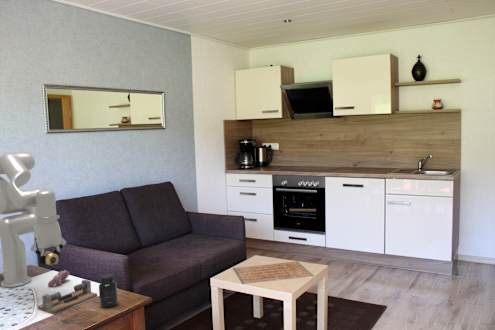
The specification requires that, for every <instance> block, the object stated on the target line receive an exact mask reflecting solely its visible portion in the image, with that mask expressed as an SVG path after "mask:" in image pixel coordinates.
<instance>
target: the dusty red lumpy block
mask: <svg viewBox="0 0 495 330" xmlns="http://www.w3.org/2000/svg"><path fill="white" fill-rule="evenodd" d="M69 276H70V271H68V270H66V269H64V270H61V271H60V270H59V271H58V273H57V274H55V276H54V277H52V279H51V280H50V281H48V283H47V286H48V287H50V288H51V287H54V286H55V285H57V286H59V285H61V283H65V281H66V279H67V278H68V277H69Z"/></svg>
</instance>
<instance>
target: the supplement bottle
mask: <svg viewBox="0 0 495 330" xmlns="http://www.w3.org/2000/svg"><path fill="white" fill-rule="evenodd" d="M114 280H115V279H114V274H111V273H106V274H103V275H101V276H100V283H99V285H98V292H99V293H98V296H99V306H100V307H101V308H102V309H103V308H104V309H110V308H114V307H115V306H117V305H118V303H119V301H118V299H119V298H118V287H117V285H118V284H117V282H116V281H114Z"/></svg>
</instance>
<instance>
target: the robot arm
mask: <svg viewBox="0 0 495 330" xmlns="http://www.w3.org/2000/svg"><path fill="white" fill-rule="evenodd" d="M35 163H36V162H35V158H34V155H32V154H31V153H30V152H28V151H19V152H18V151H17V152H7V153H6V152H5V153H4V154H2V155H0V215H1V216H5V215H8V216H5V217H2V218H0V244H1V254H2V268H3V273H2V275H1V276H2V277H3V278H4V279H3V280H2V281H1V282H0V286H1V287H2V288H17V287H20V286H21V287H22V286H25V285H27V284H29V283H30V282H32V277H31V276H29V275H28V268H27V267H28V266H27V264H28V263H27V256H26V255H27V254H26V252H27V251H26V244H25V242H24V241H23V240H22V239H21V238H20V236H22V235H26V234H27V235H28V234H31V233H33V244H32V245H31V247H30V248H29V250H30V251H31V252H33V253H34V254H36V255H38V256H39V259H38V260H39V263H40V264H41V266H45V265H47V264H46V262H45V256H44V252H45V249H48V248H52V247H53V249H54V251H53V253H54V254H57V255H58V257H59V261H58V263H59V262H60V259H61V257H60V256H61V255H60V254H61V253H60V252H61V250H62V249H63V247H64V246H65V245H66V244H67V241H66V239H65V238H64V237H63V236H62V231H61V230H62V229H61V226H60V223H59V221H58V219H60V218H61V217H60V215H58V214H57V206H56V204H57V203H56V193H55V191H54V190H52V189H47V188H44V187H40V188H31V189H25V190H20V189H19V188H21V187H23V186H25V185H26V184H27V183H28V182H29V181H30V179H31V177H32V173H31V171H30V170H32V169H34V167H35V165H36V164H35ZM1 175H6V177H7V178H8V180H9V181H8V180H6V179H5V178H4V177H2V176H1ZM18 213H19V214H18ZM13 214H14V215H13ZM37 248H38V249H37Z"/></svg>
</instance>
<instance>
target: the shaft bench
mask: <svg viewBox="0 0 495 330" xmlns="http://www.w3.org/2000/svg"><path fill="white" fill-rule="evenodd" d="M41 297H42V303H41V304H38V305H37V310H40V311H43V312H45V313H48V314H52V315H53V316H54V315H55V316H56V315H57V314H59V313H62V312H64V311H66V310H68V309H69V310H70V309H72V308H73V307H76V306H78V305H80V304H83V303H85V302H88V301H90V300H92V299H94V298H97V297H98V293H97V292H92V284H91V280H89V279H82V280H81V283H80V284H76V285H74V286H73V291H72V292H70V293H66V294H64V295H62V294H61V292H60V291H58V292H55V293H53V294H51V295H50V294H47V293H45V294H43V295H42V296H41Z"/></svg>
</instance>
